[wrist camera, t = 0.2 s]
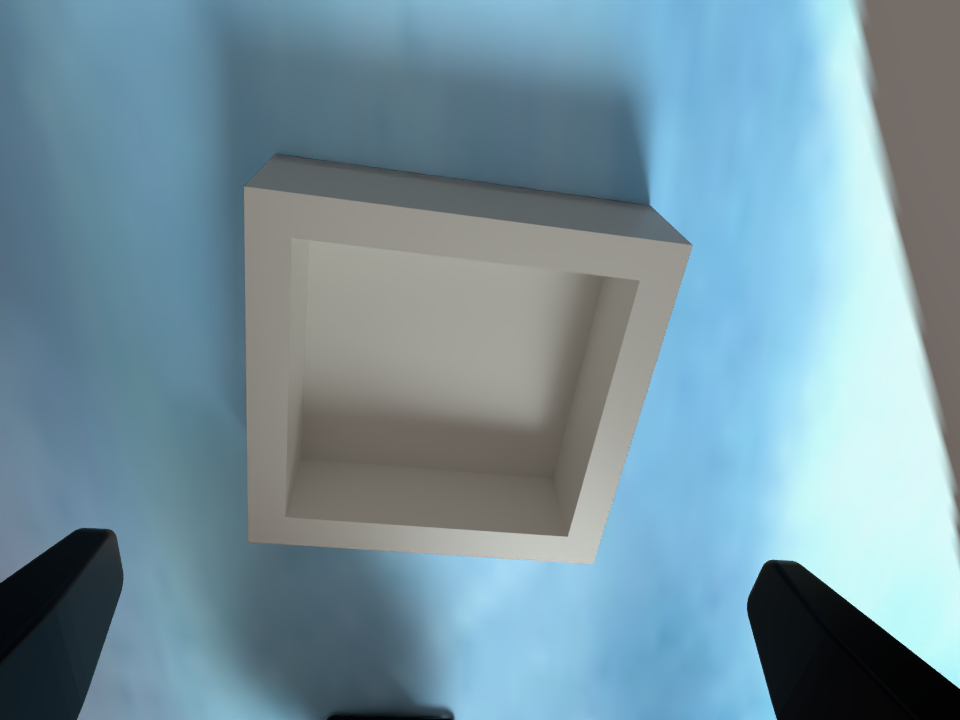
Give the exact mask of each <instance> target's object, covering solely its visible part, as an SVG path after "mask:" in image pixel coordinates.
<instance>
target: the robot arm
mask: <svg viewBox="0 0 960 720" xmlns="http://www.w3.org/2000/svg"><path fill="white" fill-rule="evenodd" d="M122 586H123V568H122V563H121V558H120V552H119V547H118V542H117V537H116V534H115V533H114V532H113V531H112V530H109V529H97V528H81V529H78V530H75V531H74V532H72V533H71V534H69V535H68V536H66V537H65V538H64V539H62V540H61V541H59V542H58V543H56V544H55V545H54V546H52V547H51V548H49V549H48V550H47V551H45V552H44V553H42V554H41V555H39V556H38V557H37V558H35V559H34V560H32V561H31V562H30V563H28V564H27V565H25V566H24V567H22V568H21V569H20V570H18V571H17V572H15V573H14V574H13V575H11V576H10V577H8V578H7V579H5V580H4V581H3V582H1V583H0V720H77V718H78V716H79V713H80V711H81V709H82V706H83V703H84V701H85V698H86V695H87V692H88V689H89V687H90V684H91V681H92V678H93V675H94V672H95V669H96V666H97V663H98V660H99V657H100V654H101V651H102V648H103V645H104V642H105V639H106V636H107V633H108V630H109V627H110V624H111V621H112V618H113V615H114V612H115V609H116V606H117V603H118V600H119V597H120V594H121V591H122ZM747 612H748V617H749V621H750V625H751V628H752V632H753V636H754V639H755V643H756V647H757V650H758V654H759V658H760V661H761V665H762V669H763V672H764V676H765V680H766V683H767V687H768V691H769V694H770V698H771V702H772V705H773V708H774V711H775V715H776V718H777V720H960V689H959V688H958V687H957V686H955V685H954V684H953V683H952V682H950V681H949V680H948V679H946V678H945V677H944V676H943V675H941V674H940V673H939V672H937V671H936V670H935V669H934V668H932V667H931V666H930V665H929V664H927V663H926V662H925V661H923V660H922V659H921V658H920V657H918V656H917V655H916V654H914V653H913V652H912V651H911V650H909V649H908V648H907V647H906V646H904V645H903V644H902V643H900V642H899V641H898V640H897V639H895V638H894V637H893V636H891V635H890V634H889V633H888V632H886V631H885V630H884V629H883V628H881V627H880V626H879V625H877V624H876V623H875V622H874V621H872V620H871V619H870V618H868V617H867V616H866V615H865V614H863V613H862V612H861V611H859V610H858V609H857V608H856V607H854V606H853V605H852V604H851V603H849V602H848V601H847V600H845V599H844V598H843V597H842V596H840V595H839V594H838V593H836V592H835V591H834V590H833V589H831V588H830V587H829V586H828V585H826V584H825V583H824V582H822V581H821V580H820V579H819V578H817V577H816V576H815V575H813V574H812V573H811V572H810V571H808V570H807V569H806V568H805V567H803V566H802V565H800V564H799V563H797V562H794V561H786V560H769V561H767V562H766V563H765V564H764V565H763V567H762V569H761V571H760V573H759V575H758V577H757V580H756V582H755V584H754V586H753V588H752V590H751V592H750V595H749V597H748V602H747ZM327 720H450V719H426V718H395V717H363V716H332V717H329V718H328V719H327Z"/></svg>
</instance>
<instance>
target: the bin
mask: <svg viewBox="0 0 960 720" xmlns="http://www.w3.org/2000/svg"><path fill="white" fill-rule="evenodd" d="M244 236H245V324H246V412H247V499H248V542H252V543H268V544H283V545H299V546H315V547H330V548H346V549H362V550H377V551H393V552H409V553H425V554H440V555H456V556H472V557H487V558H503V559H519V560H534V561H550V562H566V563H581V564H593V563H594V560H595V557H596V554H597V550H598V547H599V544H600V541H601V538H602V534H603V531H604V528H605V525H606V522H607V518H608V515H609V512H610V509H611V506H612V502H613V499H614V496H615V493H616V490H617V486H618V483H619V480H620V477H621V474H622V470H623V467H624V464H625V461H626V458H627V454H628V451H629V448H630V445H631V442H632V438H633V435H634V432H635V429H636V426H637V422H638V419H639V416H640V413H641V409H642V406H643V403H644V400H645V397H646V393H647V390H648V387H649V384H650V381H651V377H652V374H653V371H654V368H655V365H656V361H657V358H658V355H659V352H660V349H661V345H662V342H663V339H664V336H665V333H666V329H667V326H668V323H669V320H670V317H671V313H672V310H673V307H674V304H675V301H676V297H677V294H678V291H679V288H680V285H681V281H682V278H683V275H684V272H685V269H686V265H687V262H688V259H689V256H690V253H691V249H692V246H693V245H692V244H691V243H690V242H689V241H688V240H687V239H686V238H684V237H683V236H682V235H681V234H680V233H679V232H678V231H677V230H676V229H675V228H674V227H673V226H672V225H671V224H670V223H668V222H667V221H666V220H665V219H664V218H663V217H662V216H661V215H660V214H659V213H658V212H657V211H656V210H655V209H654V208H652V207H651V206H649V205H642V204H634V203H627V202H620V201H613V200H605V199H598V198H591V197H584V196H576V195H569V194H562V193H555V192H547V191H540V190H533V189H526V188H518V187H511V186H504V185H497V184H489V183H482V182H475V181H468V180H461V179H453V178H446V177H439V176H432V175H424V174H417V173H410V172H403V171H395V170H388V169H381V168H374V167H366V166H359V165H352V164H345V163H337V162H330V161H323V160H316V159H308V158H301V157H294V156H287V155H280V154H275V155H274V156H273V157H272V158H271V159H270V160H269V161H268V162H267V163H266V164H265V165H264V166H263V167H262V168H261V169H260V170H259V171H258V173H257V174H256V175H255V176H254V177H253V178H252V179H251V180H250V181H249V182H248V183H247V184H246V185H245V186H244Z"/></svg>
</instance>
